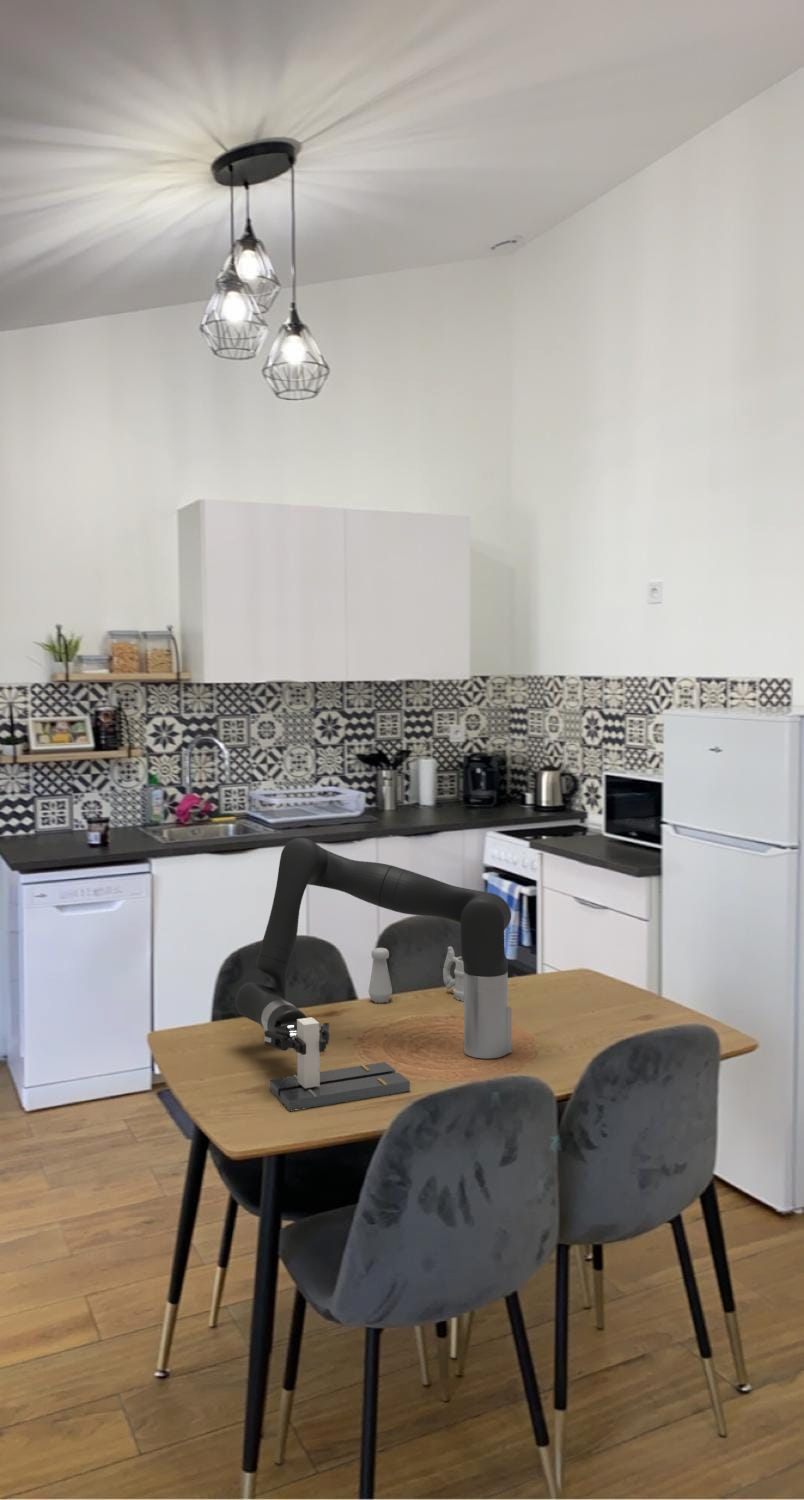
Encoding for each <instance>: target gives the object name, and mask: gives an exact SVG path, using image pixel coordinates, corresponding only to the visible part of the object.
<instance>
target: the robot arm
mask: <svg viewBox="0 0 804 1500" xmlns="http://www.w3.org/2000/svg"><path fill="white" fill-rule="evenodd" d="M278 865H279V866H278V873H277V878H276V879H277V880H276V886H275V891H274V896H273V901H272V906H271V910H270V914H269V918H268V922H267V925H266V928H265V932H264V936H263V939H262V941H261V944H260V946H259V947H260V948H259V951H258V955H257V957H256V961H255V969H256V970H257V971H259V972H260V973H261V974H264V975H266V976H267V977H268V978H269V980H270V986H268V985H263V984H261V983H256V982H247V983H244V984H243V985H242V986H240V988H238V991H237V992H236V995H235V1007H236V1010H237V1011H238V1013H239V1014H240V1015H241V1016H242V1017H244V1018H245V1019H248V1020H250V1021H252V1022H255V1023H257V1024H259V1025H260V1026H261V1027H262V1028H263V1029H264V1030H265V1031H263V1032H264V1045H265V1046H266V1047H267V1046H268V1047H270V1048H273V1049H277V1050H279V1051H283V1052H286V1051H287V1050H289V1049H291V1051H295V1052H296V1053H297V1052H298V1053H300V1054H301V1055H305V1054H306V1043H305V1042H304V1041H302V1040H301V1039H300V1038H298V1036H297V1019H303V1018H308V1017H307V1015H306V1014H305V1013H303V1012H302V1011H301V1010H300V1009H299V1008H297V1007H296V1006H295V1005H294V1004H292V1003H290V1002H289V1001H287V981H288V980H287V979H288V971H289V966H290V963H291V959H292V957H293V953H294V950H295V946H296V941H297V935H298V927H299V918H300V909H301V905H302V901H303V896H304V894H305V891H306V889H307V886H308V885H309V886H315V887H321V888H326V889H330V890H335V891H340V892H343V893H345V894H348V895H351V896H353V897H355V898H357V899H359V900H361V901H363V902H366V903H368V904H371V905H374V906H377V907H380V908H383V909H386V910H389V911H393V912H397V913H400V914H405V915H411V916H412V915H413V916H423V917H424V916H425V917H436V918H437V917H438V918H443V919H447V920H451V921H454V922H456V923H459V924H460V928H459V929H460V953H461V954H460V955H461V956H462V960H463V964H464V1001H463V1053H464V1054H466V1055H467V1056H469V1057H472V1058H476V1059H498V1058H502V1057H504V1056H506V1055H508V1054H511V1053H512V1051H513V1050H512V1049H513V1048H512V1045H513V1043H512V1042H513V1041H512V1039H513V1038H512V1037H513V1035H512V1033H513V1032H512V1031H513V1030H512V1027H513V1026H512V1024H513V1023H512V1022H513V1020H512V1017H513V1015H512V1008H511V1006H509V1002H508V1001H509V1000H508V999H509V998H508V996H509V995H508V992H509V990H508V988H509V987H508V985H509V984H508V981H509V980H508V979H509V977H508V975H509V973H508V971H509V969H508V968H509V967H508V966H509V965H508V964H509V963H508V958H507V957H506V954H505V953H506V952H505V951H506V950H505V930H506V929H507V927H508V926H509V925H510V922H511V918H512V912H511V911H512V910H511V908H510V906H509V904H508V903H507V901H506V900H505V899H503V898H502V897H501V896H499V895H497V894H495V893H492V892H487V891H482V890H476V889H470V888H464V887H461V886H456V885H452V884H449V883H446V882H443V881H441V880H438V879H436V878H432V877H429V876H427V875H424V874H419V873H417V872H415V871H411V870H408V869H405V868H401V867H397V866H394V865H392V864H391V865H390V864H386V863H380V862H374V861H373V862H372V861H364V860H363V861H362V860H360V861H359V860H354V859H351V858H347V857H344V856H342V855H339V854H336V853H334V852H331V851H330V850H328V849H325V848H323V847H322V846H320V845H318V844H317V843H315V842H314V841H313V840H311V839H309V838H305V837H295V838H294V839H291V840H289V841H288V842H287V843H286V844H285V845H284V847H283V848H282V851H281V854H280V858H279V863H278ZM329 1040H330V1023H329V1022H324V1023H323V1024H321V1025H320V1026H319V1053H324V1052H325V1050H326V1049H327V1045H329Z"/></svg>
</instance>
